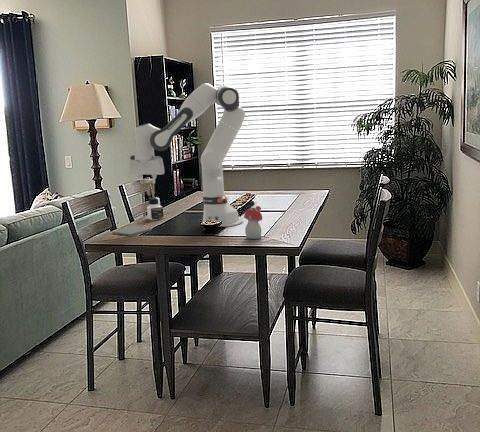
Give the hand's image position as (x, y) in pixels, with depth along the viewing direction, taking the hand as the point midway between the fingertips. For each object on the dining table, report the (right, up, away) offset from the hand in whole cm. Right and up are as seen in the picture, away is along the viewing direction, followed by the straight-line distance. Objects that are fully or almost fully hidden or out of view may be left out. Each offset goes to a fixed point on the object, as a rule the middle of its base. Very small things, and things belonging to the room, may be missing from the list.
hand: (147, 183), depth 285 cm
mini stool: (0, -6, +1) cm, 6 cm away
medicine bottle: (0, -19, +29) cm, 35 cm away
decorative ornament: (+54, -27, -32) cm, 68 cm away
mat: (-7, -25, -3) cm, 26 cm away
